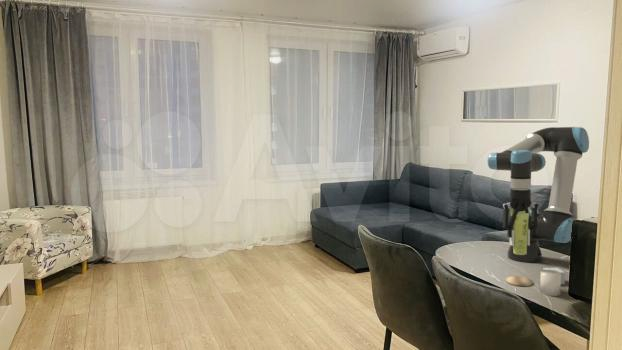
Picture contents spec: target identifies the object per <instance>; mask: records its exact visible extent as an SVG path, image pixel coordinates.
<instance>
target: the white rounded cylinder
mask: <svg viewBox="0 0 622 350" xmlns="http://www.w3.org/2000/svg"><path fill="white" fill-rule="evenodd" d="M539 279H540V280H539V281H540V282H539V283H540V285H539V289H540V290H539V292H540V293H541V295H543V296H544V295H545V296H547V297H549V296H550V297H559V296H561V292H562V291H561V289H562V287H561V286H562V284H561V273H560V272H558V271H554V270H543V269H542V270H540V277H539ZM558 295H559V296H558Z"/></svg>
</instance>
